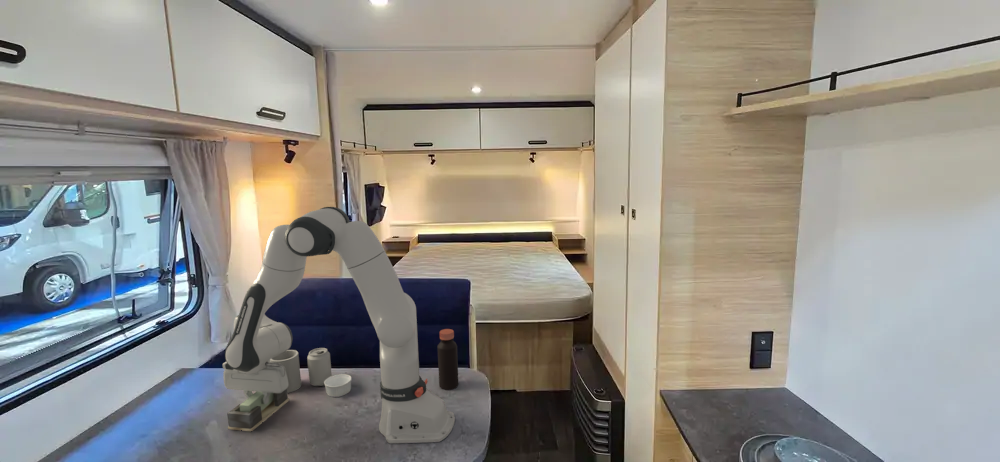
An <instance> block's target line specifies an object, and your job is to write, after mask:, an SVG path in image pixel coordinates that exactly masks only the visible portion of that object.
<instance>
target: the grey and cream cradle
mask: <svg viewBox="0 0 1000 462" xmlns="http://www.w3.org/2000/svg"><path fill="white" fill-rule="evenodd" d="M288 394H289V393H287V389H286V390H284V391H283V392H282V393H274V400H273V401H272V402H271V403H270V404H269V405H268V406H267V407H266V408H265V409H263V410H262V411H261V406H256V407H255V408H254V409H253V410H251V411H250V412H249V413H248V412H240V406H239V405H240V404H241V403H240V404H238V405H237V406H234V408H232V409H230V411H228V412H227V415H226V416H227V423H228V426H227V429H228V430H234V431H241V430H242V431H243V432H251V431H252V432H253V431H254V430H255V429H256V428H258V427H259V426H260V425H261V424H263V423H264V422H265V421H267V420H268V419H269V418H270V417H271V416H273V413H274V414H275V413H276V412H277V411H278V410H280V409H281V408H282V407H283V406H284V405H286V404H287V403H288V402H289V401H290V399H289V396H288ZM262 422H263V423H262Z"/></svg>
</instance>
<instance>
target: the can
mask: <svg viewBox="0 0 1000 462" xmlns="http://www.w3.org/2000/svg"><path fill="white" fill-rule="evenodd" d="M306 359H307V360H306V361H307V369H308V379H309V380H308V381H309V384H310V385H312V386H314V387H323V386H325V385H324V381H325V380H326V379H327V378H329V377H331V376H333V375H332V364H331V363H332V362H331V353H330V352H329V351H328V348H325V347H319V348H318V347H317V348H314V349H312V350H310V351H309V352H308V355H307V358H306Z"/></svg>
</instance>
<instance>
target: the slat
mask: <svg viewBox="0 0 1000 462" xmlns="http://www.w3.org/2000/svg"><path fill="white" fill-rule="evenodd" d="M263 397H264V395H263V392H257V391H254V393H253V395H252V396H250V397H249V398H246V399H245V400H243V402H242V403H240V405H239V404H238V405H239V406H240V412H248V413H249V412H250V411H251V410H253V409H254V408H255V407H256V406H261V411H262V410H263V409H265V408H266V407H267V406H268V405H269V404H270V403H271V402H272V401H273V400H274V393H270V395H269V402H268V403H267V404H261V399H262V398H263Z"/></svg>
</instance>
